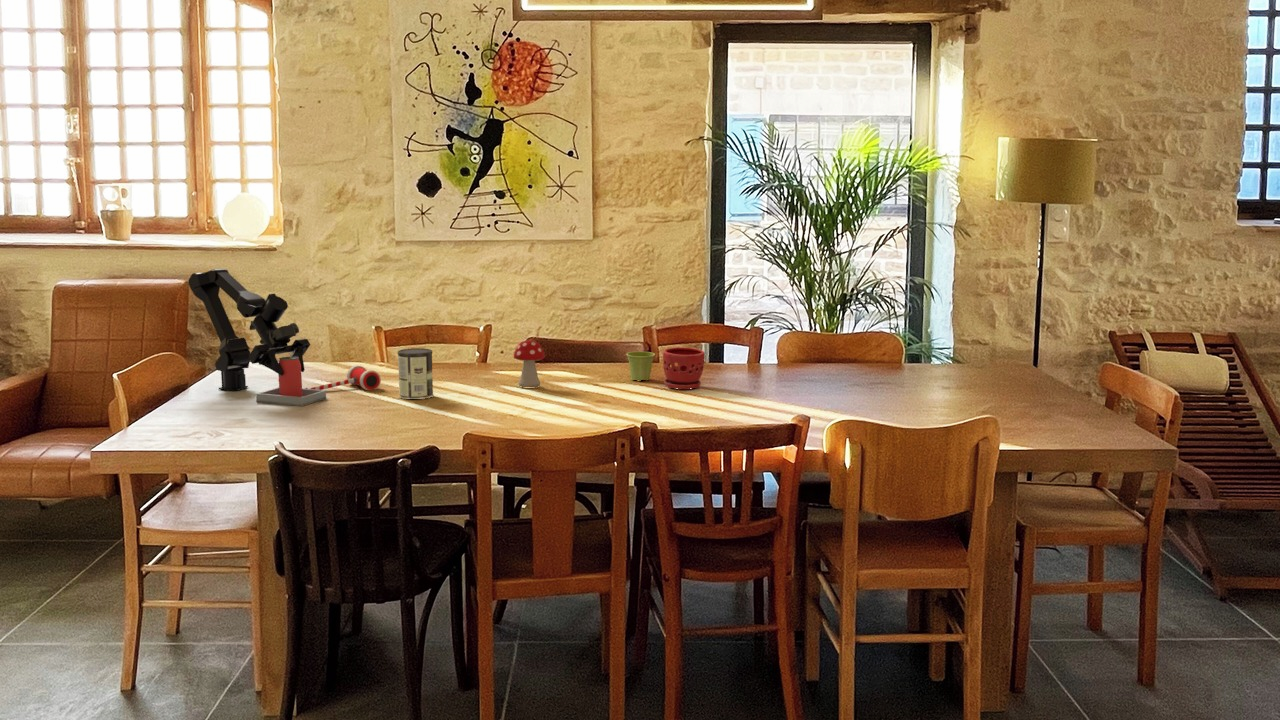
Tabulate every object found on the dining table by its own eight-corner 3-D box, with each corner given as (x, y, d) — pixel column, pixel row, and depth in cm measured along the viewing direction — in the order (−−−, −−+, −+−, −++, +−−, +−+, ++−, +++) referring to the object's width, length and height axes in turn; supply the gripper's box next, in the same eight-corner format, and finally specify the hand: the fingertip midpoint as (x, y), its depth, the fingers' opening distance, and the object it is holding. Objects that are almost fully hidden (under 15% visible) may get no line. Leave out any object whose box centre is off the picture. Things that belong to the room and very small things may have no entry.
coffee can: (419, 392, 394) (418, 346, 391) (440, 396, 387) (439, 350, 384) (391, 396, 386) (390, 350, 384) (412, 401, 379) (411, 354, 377)
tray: (256, 402, 377) (256, 393, 376) (281, 394, 388) (280, 386, 387) (302, 406, 371) (302, 397, 371) (326, 398, 382) (325, 390, 382)
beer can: (303, 395, 383) (301, 355, 381) (301, 399, 377) (299, 358, 375) (281, 396, 382) (279, 356, 381) (278, 400, 376) (275, 359, 374)
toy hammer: (311, 398, 385) (310, 377, 384) (296, 391, 395) (295, 371, 393) (381, 390, 399) (381, 369, 398) (365, 383, 408) (365, 364, 407)
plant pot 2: (656, 389, 400) (656, 351, 398) (671, 382, 412) (671, 345, 410) (695, 393, 396) (696, 354, 394) (709, 385, 408) (710, 348, 406)
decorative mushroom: (547, 385, 406) (547, 338, 404) (542, 390, 398) (542, 342, 395) (516, 384, 407) (516, 337, 405) (511, 389, 399) (510, 341, 396)
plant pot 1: (660, 379, 418) (660, 353, 416) (644, 383, 410) (645, 357, 408) (636, 376, 423) (636, 350, 421) (620, 380, 415) (620, 354, 413)
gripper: (253, 318, 370) (278, 360, 366) (305, 311, 385) (330, 352, 380) (237, 342, 376) (262, 383, 372) (289, 335, 391) (314, 374, 386)
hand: (293, 372), depth 377 cm, fingers open, 7 cm apart
